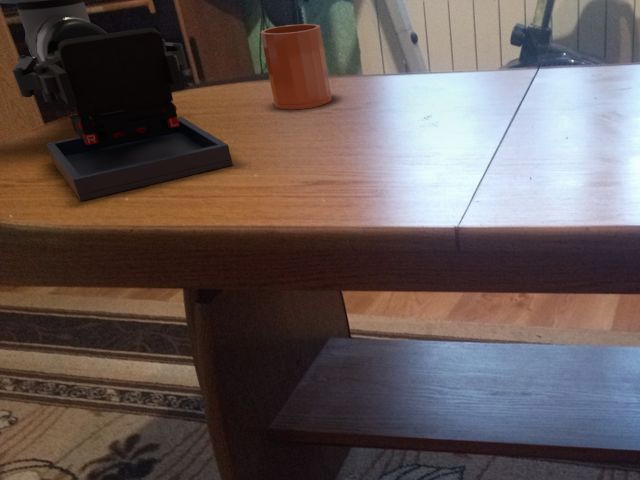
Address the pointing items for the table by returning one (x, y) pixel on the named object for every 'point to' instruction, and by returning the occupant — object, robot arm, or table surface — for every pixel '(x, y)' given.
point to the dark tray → (137, 160)
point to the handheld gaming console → (119, 85)
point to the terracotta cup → (296, 66)
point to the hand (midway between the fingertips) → (122, 79)
